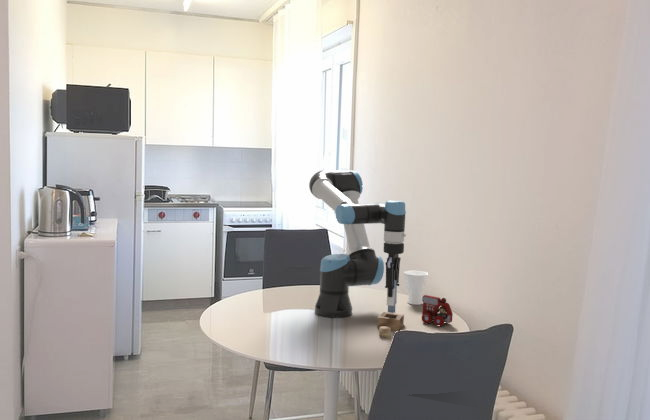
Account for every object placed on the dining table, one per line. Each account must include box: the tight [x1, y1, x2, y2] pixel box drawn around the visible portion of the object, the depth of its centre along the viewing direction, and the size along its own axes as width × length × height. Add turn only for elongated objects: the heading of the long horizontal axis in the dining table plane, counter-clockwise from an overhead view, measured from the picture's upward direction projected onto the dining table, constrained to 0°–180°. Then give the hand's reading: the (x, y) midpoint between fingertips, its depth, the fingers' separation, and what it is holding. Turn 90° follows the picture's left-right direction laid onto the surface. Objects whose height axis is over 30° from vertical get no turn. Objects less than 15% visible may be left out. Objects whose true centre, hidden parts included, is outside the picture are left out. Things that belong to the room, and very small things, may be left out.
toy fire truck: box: [421, 294, 454, 327], centre depth 220 cm, size 7×12×10 cm, turn 53°
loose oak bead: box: [378, 326, 392, 339], centre depth 203 cm, size 4×4×3 cm
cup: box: [403, 269, 429, 306], centre depth 249 cm, size 10×10×14 cm
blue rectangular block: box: [387, 280, 397, 314], centre depth 213 cm, size 3×3×12 cm
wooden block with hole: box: [377, 311, 405, 331], centre depth 215 cm, size 8×8×4 cm
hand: (391, 303), depth 214 cm, fingers closed on blue rectangular block, 3 cm apart
